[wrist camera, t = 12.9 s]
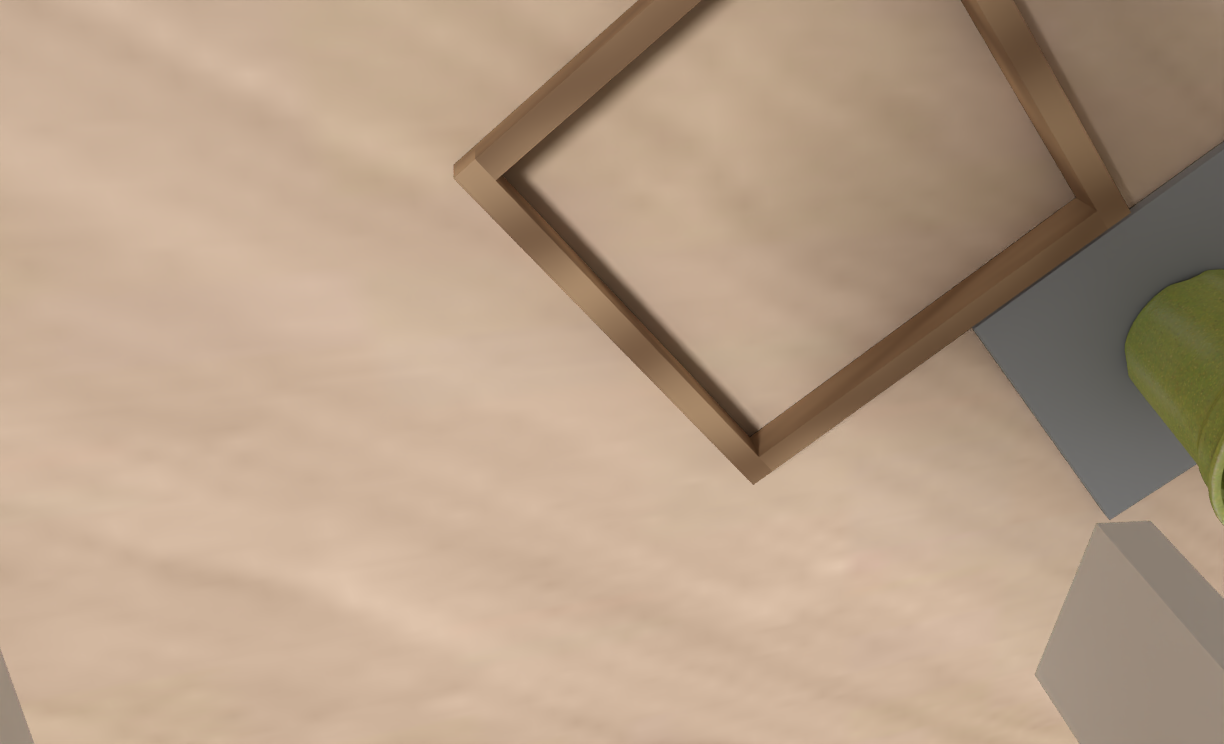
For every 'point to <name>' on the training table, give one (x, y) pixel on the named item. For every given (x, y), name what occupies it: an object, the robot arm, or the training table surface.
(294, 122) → the training table surface
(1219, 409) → the plant pot
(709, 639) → the training table surface
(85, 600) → the training table surface
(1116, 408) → the mat
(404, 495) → the training table surface
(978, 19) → the tray frame
